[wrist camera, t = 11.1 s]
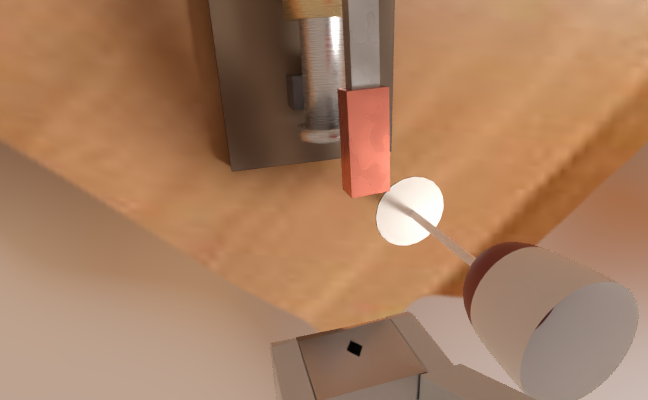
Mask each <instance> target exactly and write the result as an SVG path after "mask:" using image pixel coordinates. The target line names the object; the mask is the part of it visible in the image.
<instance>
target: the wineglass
mask: <svg viewBox="0 0 648 400" xmlns="http://www.w3.org/2000/svg"><path fill="white" fill-rule="evenodd" d="M442 211H443V196H442V194H441V191H440V189H439V188H438V187H437V185H436V184H435V183H434V182H433V181H431V180H428V179H426V178H424V177H410V178H407V179H403V180H401V181H399V182H398V183H396V184H395V185H393V186H392V187H391V188H390V191H389V192H386V193H385V194H384V195H383V197H382V199H381V201H380V203H379V205H378V209H377V214H376V221H377V228H378V230H379V232H380V234H381V236H382V237H384V238H385V239H386V240H387V241H388V242H390V243H393V244H396V245H411V244H414V243H417V242H419V241H421V240H422V239H424V238H426V237H427V236H428V235H429V234H430V233H431V234H432V235H433V236H434V237H435V238H437V239H438V240H439V241H440V242H442V243H443V244H444V245H445V246H446V247H448V248H449V249H450V250H451V251H453V252H454V253H455V254H456V255H457V256H459V257H460V258H461V259H462V260H463V261H465V262H466V263H467V264H468V265H470V268H469V270H468V272H467V275H466V278H465V282H464V287H463V297H464V305H465V309H466V312H467V315H468V317H469V320H470V322H471V324H472V326H473V328H474V330H475V332H476V333H477V335H478V337H479V338H480V340H481V341H482V343H483V344H484V345H485V346H486V348H487V349H488V351H489V352H490V353H491V354H492V356H493V357H494V358H495V359H496V360H497V362H498V363H499V364H500V365H501V367H502V368H503V369H504V370H505V371H506V373H507V374H508V375H509V376H510V377H511V379H512V380H513V381H514V382H515V383H516V384H517V385H518V386H519V387H520V389H521V390H522V391H523V392H524V393H525V394H526V395H528V396H530V397H532V398H534V399H536V400H578V399H581V398H583V397H584V396H586V395H587V394H589V393H591V392H592V391H593V390H595V389H596V388H597V387H599V386H600V385H601V384H602V383H603V382H604V381H605V380H606V379H607V378H608V377H609V376H610V375H611V374H612V373H613V372H614V371H615V369H616V368H617V367H618V366H619V364H620V363H621V361H622V360H623V358H624V357H625V355H626V353H627V352H628V350H629V348H630V346H631V344H632V341H633V339H634V336H635V333H636V329H637V324H638V306H637V301H636V299H635V297H634V295H633V294H632V292H631V291H630V290H629V289H628V288H626V287H625V286H624V285H622V284H620V283H618V282H616V281H615V280H613V279H611V278H609V277H607V276H605V275H604V274H602V273H600V272H598V271H596V270H594V269H592V268H590V267H588V266H585V265H583V264H581V263H579V262H577V261H575V260H572V259H570V258H568V257H565V256H563V255H560V254H558V253H555V252H552V251H550V250H547V249H544V248H541V247H538V246H534V245H531V244H526V243H519V242H506V243H500V244H497V245H495V246H492V247H490V248H489V249H487V250H485V251H484V252H482V253H481V254H480V255H479V256H478V257H477V258H475V257H474V256H473V255H471V254H470V253H469V252H467V251H466V250H465V249H463V248H462V247H461V246H460V245H458V244H457V243H456V242H454V241H453V240H452V239H451V238H449V237H448V236H447V235H445V234H444V233H443V232H442V231H440V230H439V229H438V228H436V226H437V224H438V222H439V221H440V219H441V215H442Z"/></svg>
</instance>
